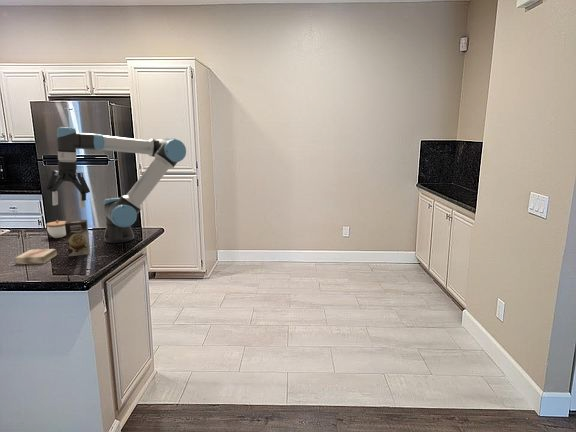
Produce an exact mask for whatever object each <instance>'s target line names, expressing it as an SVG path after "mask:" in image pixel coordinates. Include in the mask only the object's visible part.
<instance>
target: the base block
mask: <svg viewBox="0 0 576 432" xmlns="http://www.w3.org/2000/svg"><path fill="white" fill-rule="evenodd" d="M57 255H58V252H57V248H43V249H42V248H41V249H37V248H36V249H28V250H27V251H24V252H23V253H21V254H19V255H17V256H15V257H14V261H15V265H32V264H34V265H35V264H46V263H47V262H49V261H50V260H51V259H53V258H55V257H57Z"/></svg>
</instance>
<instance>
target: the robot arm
mask: <svg viewBox="0 0 576 432" xmlns="http://www.w3.org/2000/svg"><path fill="white" fill-rule="evenodd" d="M56 143H57V145H56V146H57V160H58V162H57V169H58V170H52V171H51V172H52V173H51V177H50V179H49V180H48V181H49V182H48V183H47V185H46V187H45V189H46V190H47V191H50V198H51V199H52V201H51V202H52V206H57V205H59V194H58V191H57V190H58V189H59V187H61V184H63V182H70V183H72V184H73V185H74V186H75V188H76V189H77V191H78V192H79V195H78V197H79V199H78V201H79V202H78V203H79V209H83V208H85V207H86V206H85V205H86V203H85V202H86V200H87V194H88V193H90V192H91V191H90V188H89V186H88V184H87V181H86V180H85V177H84V173H83V172H77V162H76V161H77V149H78V150H91V151H92V150H93V151H94V150H95V151H109V152H110V151H111V152H120V153H131V154H133V153H134V154H141V155H148V156H149V157H154V159H153V161H151V163H150V164H149V166H148V167H147V168H146V169H145V170H144V172H143V173H142V175H141V176H140V177H139V178H138V180H137V181H136V182H135V183H134V184H133V186H131V189H129V191H128V192H127V193H126V194H123V195H121V196H120V197H111V198H105V199H104V200H103V207H104V216H105V225H106V228H105V231H104V235H103V240H104V242H105V243H107V244H108V243H109V244H118V243H125V242H129V241H132V240H134V239H135V234H134V233H135V232H134V231H133V230H132V227H131V226H132V225H133V224H134V223H135V222H136V221H137V218H138V214H139V213H140V212H141V210H142V204H143V203H144V201H145V200H146V199H147V197H149V195H150V194H151V193H152V191H153V190H154V189H155V187H156V186H157V184H158V183H159V182H160V181H161V179H162V178H163V177H164V176H165V174H166V173H167V172H168V170H170V169H174V167H175V166H177V163H179V162H182V161H183V160H184V159H185V157H186V155H187V147H186V145H185V143H183V141H181V140H179V139H176V138H161V139H160V138H150V139H140V138H131V137H122V136H115V135H114V136H113V135H105V134H101V133H100V134H99V133H89V132H77V131H76V128H75V127H65V126H59V127H57V129H56ZM58 176H59V177H58Z"/></svg>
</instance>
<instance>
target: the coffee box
mask: <svg viewBox="0 0 576 432" xmlns="http://www.w3.org/2000/svg"><path fill="white" fill-rule="evenodd" d="M65 221H66V223H65V229H66V235H65V237H66V245H67V253H68V254H67V255H68V257H74V256H84V255H85V256H87V255H90V253H91V247H90V239H89V237H90V236H89V226H88V219H78V220H65Z"/></svg>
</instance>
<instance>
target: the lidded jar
mask: <svg viewBox="0 0 576 432" xmlns="http://www.w3.org/2000/svg"><path fill="white" fill-rule="evenodd" d="M66 221H67V220H59V219H56V220H55V221H50V222H47V223H46V225H45V226H46V229H47V232H48V234H49V236H51V237H52V238H53V239H58V238H63V237H66V229H65V223H66Z"/></svg>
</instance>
